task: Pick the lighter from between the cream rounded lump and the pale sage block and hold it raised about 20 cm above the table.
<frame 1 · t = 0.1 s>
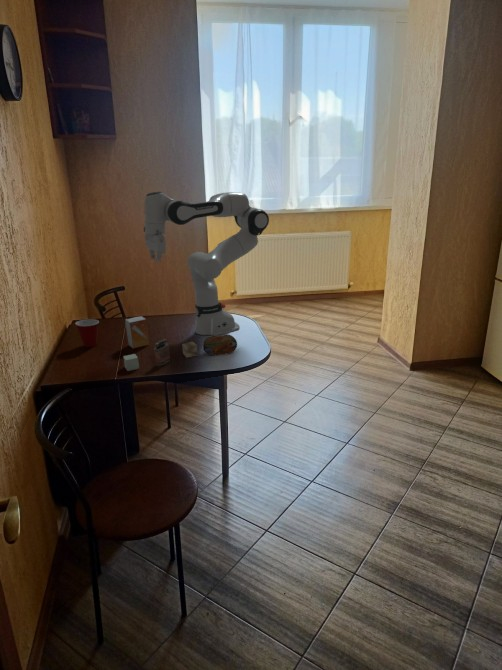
hand: (155, 260, 213), 39 cm above the table, tool pointing down, fingers open, 8 cm apart
lighter: (163, 363, 201), on the table
sage block: (132, 367, 197), on the table
plastic cup: (91, 345, 225), on the table
small box: (139, 345, 222), on the table
tin: (220, 354, 207), on the table
cream rounded lump: (190, 354, 207), on the table
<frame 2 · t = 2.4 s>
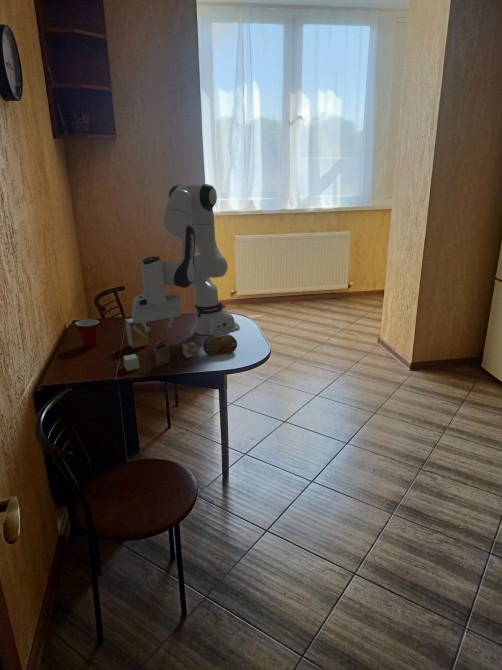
hand: (158, 329, 195), 15 cm above the table, tool pointing down, fingers open, 8 cm apart
nothing on the table moved.
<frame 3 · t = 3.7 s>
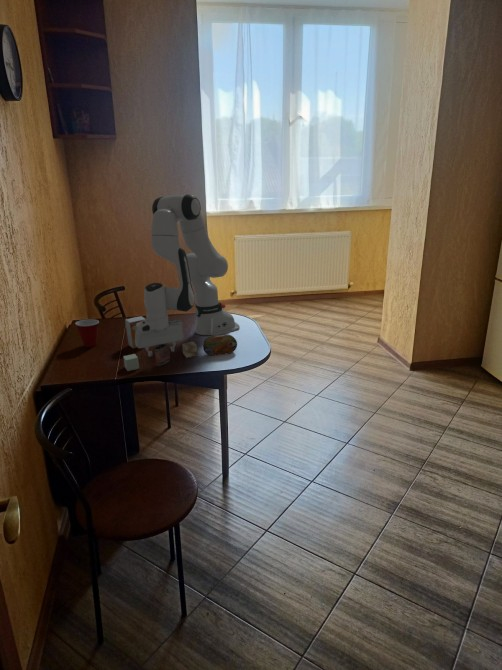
hand: (161, 353, 199), 4 cm above the table, tool pointing down, fingers open, 8 cm apart
nothing on the table moved.
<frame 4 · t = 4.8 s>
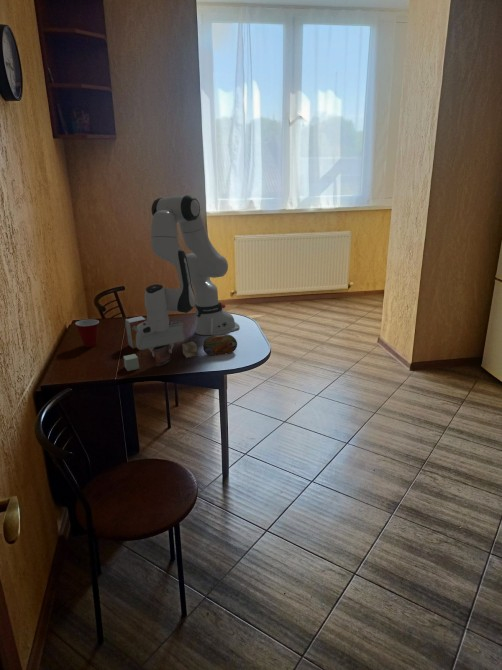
hand: (162, 354, 199), 4 cm above the table, tool pointing down, fingers closed on lighter, 5 cm apart
lighter: (163, 363, 201), on the table, touching gripper
everything else where it was.
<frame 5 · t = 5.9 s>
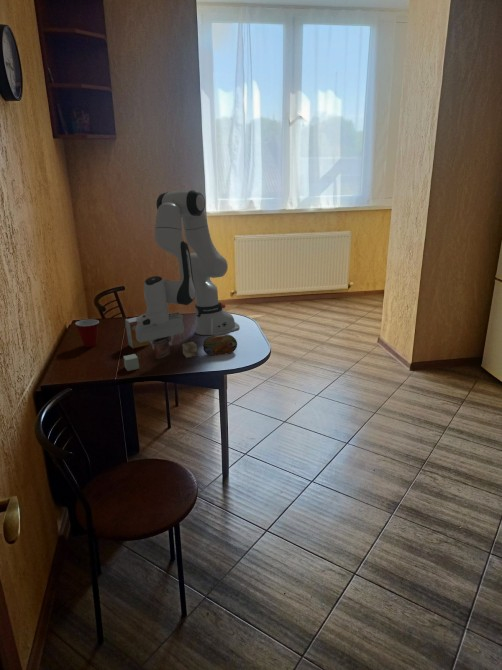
hand: (162, 347, 198), 7 cm above the table, tool pointing down, fingers closed on lighter, 5 cm apart
lighter: (163, 355, 200), point 3 cm above the table, touching gripper
everything else where it was.
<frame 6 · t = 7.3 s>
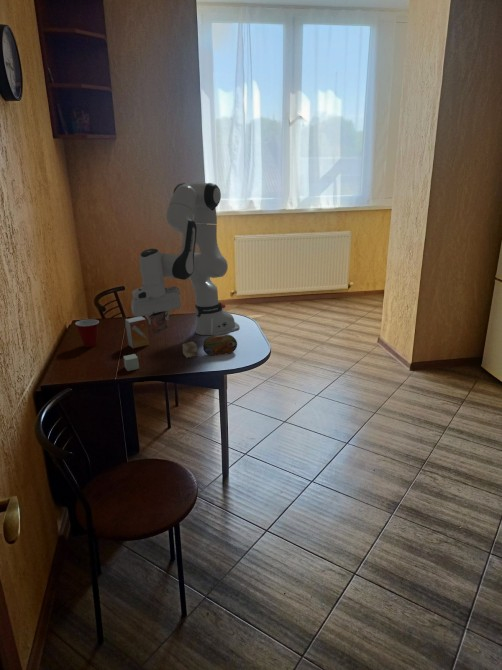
hand: (158, 322, 194), 18 cm above the table, tool pointing down, fingers closed on lighter, 5 cm apart
lighter: (160, 330, 196), point 14 cm above the table, touching gripper
everything else where it was.
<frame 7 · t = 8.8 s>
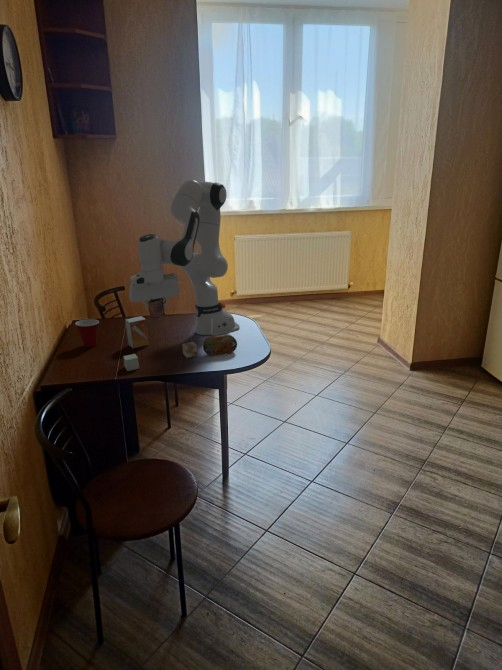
hand: (156, 309, 192), 24 cm above the table, tool pointing down, fingers closed on lighter, 5 cm apart
lighter: (157, 317, 193), point 20 cm above the table, touching gripper
everything else where it was.
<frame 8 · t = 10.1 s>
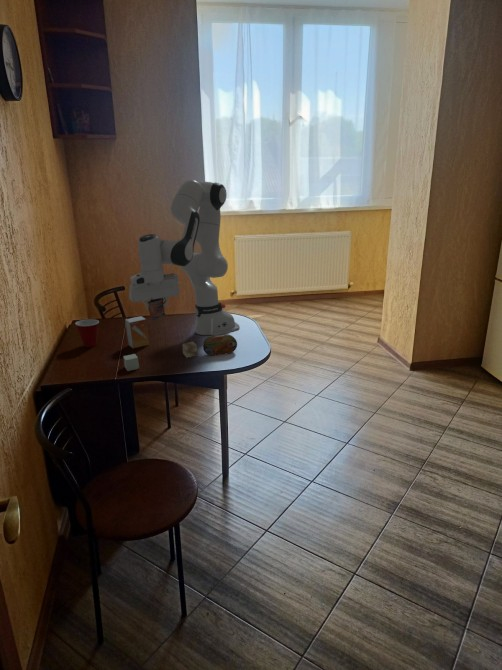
hand: (156, 309, 192), 24 cm above the table, tool pointing down, fingers closed on lighter, 5 cm apart
lighter: (157, 317, 193), point 20 cm above the table, touching gripper
everything else where it was.
at the end: the gripper is holding lighter; lighter point 20.2 cm above the table; cream rounded lump moved 0.1 cm from its start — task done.
